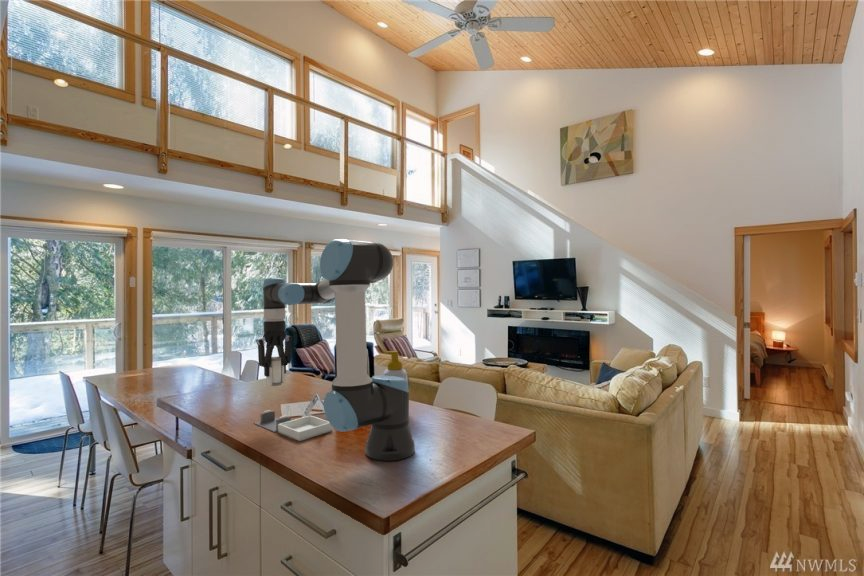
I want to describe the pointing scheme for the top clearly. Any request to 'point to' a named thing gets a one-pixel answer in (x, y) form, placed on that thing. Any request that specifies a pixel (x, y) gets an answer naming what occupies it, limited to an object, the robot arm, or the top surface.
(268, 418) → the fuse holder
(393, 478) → the top surface
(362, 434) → the top surface
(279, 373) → the cylinder
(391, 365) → the soap bottle
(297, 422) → the parts tray
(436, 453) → the top surface
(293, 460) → the top surface
